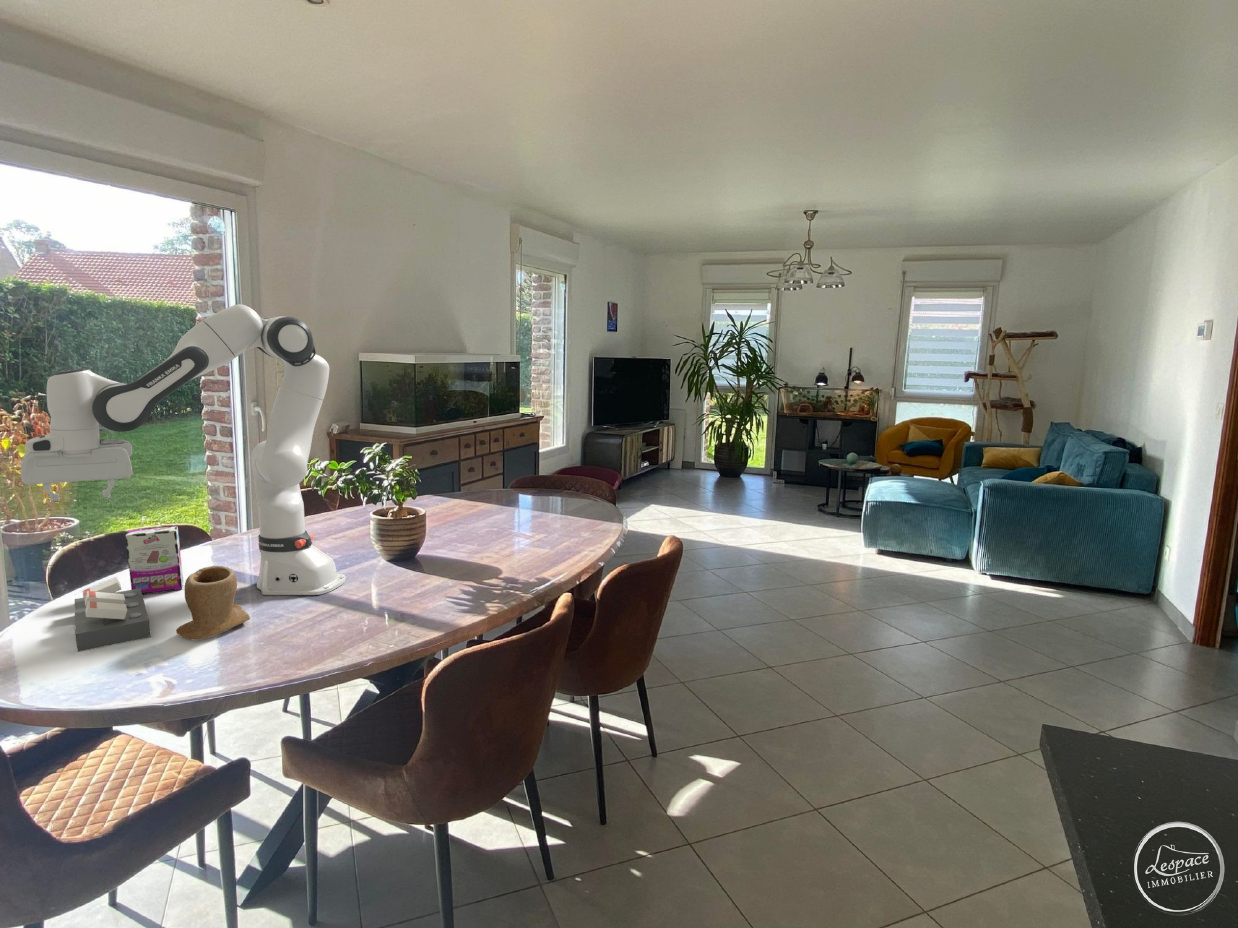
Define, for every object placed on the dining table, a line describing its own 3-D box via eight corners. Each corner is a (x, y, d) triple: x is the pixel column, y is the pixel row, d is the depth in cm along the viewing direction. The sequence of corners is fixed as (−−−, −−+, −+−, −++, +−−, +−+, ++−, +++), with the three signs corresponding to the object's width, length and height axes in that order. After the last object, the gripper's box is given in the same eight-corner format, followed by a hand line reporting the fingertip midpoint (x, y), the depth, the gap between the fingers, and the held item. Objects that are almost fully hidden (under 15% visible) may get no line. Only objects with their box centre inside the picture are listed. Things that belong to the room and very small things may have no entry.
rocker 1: (120, 583, 168) (116, 576, 167) (121, 589, 165) (117, 581, 164) (86, 598, 165) (82, 590, 164) (87, 604, 161) (82, 596, 160)
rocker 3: (123, 612, 157) (126, 603, 157) (124, 619, 153) (127, 609, 153) (85, 610, 152) (88, 600, 152) (85, 616, 149) (88, 607, 149)
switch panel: (142, 603, 174) (140, 583, 173) (150, 636, 155) (148, 614, 154) (76, 614, 166) (73, 594, 165) (77, 651, 147) (74, 628, 146)
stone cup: (204, 648, 150) (198, 582, 147) (168, 637, 155) (162, 573, 152) (265, 623, 164) (261, 562, 161) (230, 614, 169) (225, 555, 166)
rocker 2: (121, 602, 163) (124, 593, 163) (122, 608, 159) (125, 599, 159) (84, 599, 158) (87, 590, 158) (85, 605, 155) (87, 596, 155)
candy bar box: (184, 584, 187) (178, 525, 184) (182, 590, 183) (176, 530, 180) (134, 590, 182) (127, 529, 179) (131, 596, 178) (124, 534, 175)
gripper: (131, 436, 166) (135, 493, 169) (19, 440, 154) (25, 501, 157) (132, 440, 161) (136, 498, 164) (16, 444, 149) (23, 507, 152)
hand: (81, 499), depth 160 cm, fingers open, 8 cm apart
